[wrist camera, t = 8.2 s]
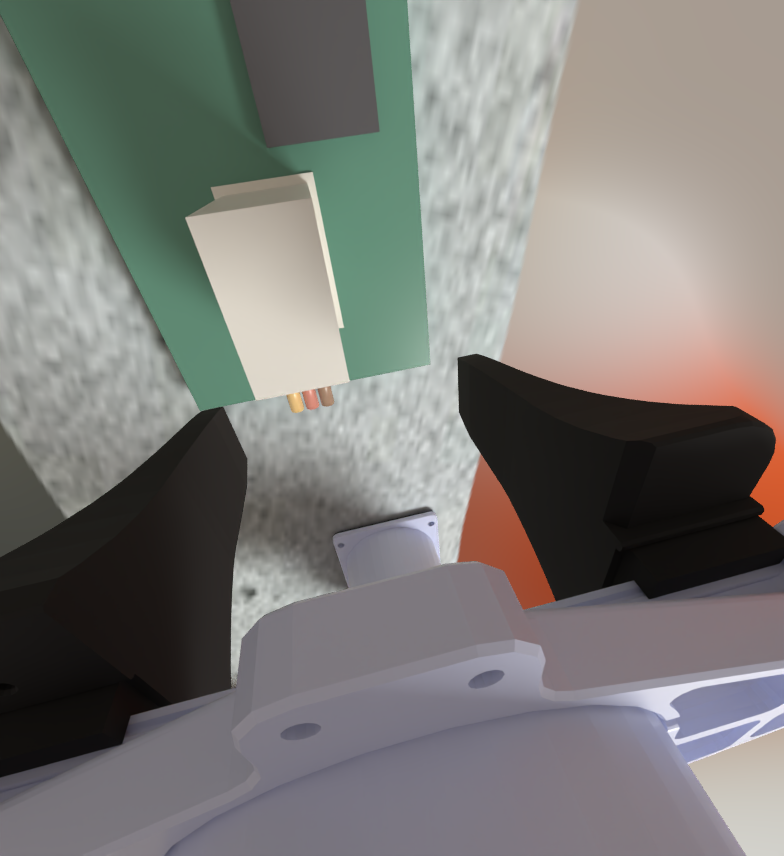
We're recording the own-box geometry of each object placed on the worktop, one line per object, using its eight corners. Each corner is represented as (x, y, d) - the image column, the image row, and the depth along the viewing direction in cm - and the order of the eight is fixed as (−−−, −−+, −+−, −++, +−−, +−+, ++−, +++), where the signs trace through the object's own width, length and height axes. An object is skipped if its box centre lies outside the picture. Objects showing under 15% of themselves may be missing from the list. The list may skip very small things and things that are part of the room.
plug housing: (342, 351, 19) (357, 418, 14) (277, 363, 19) (270, 436, 14) (306, 182, 15) (311, 197, 10) (222, 195, 14) (185, 217, 10)
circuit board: (422, 352, 22) (436, 374, 20) (205, 395, 21) (194, 424, 18) (388, -112, 12) (407, -169, 10) (-21, -76, 11) (-98, -131, 9)
